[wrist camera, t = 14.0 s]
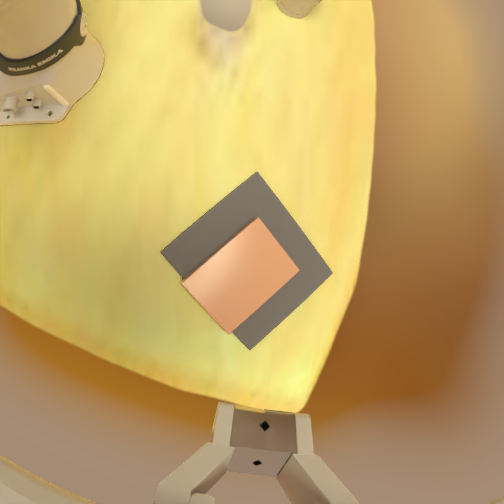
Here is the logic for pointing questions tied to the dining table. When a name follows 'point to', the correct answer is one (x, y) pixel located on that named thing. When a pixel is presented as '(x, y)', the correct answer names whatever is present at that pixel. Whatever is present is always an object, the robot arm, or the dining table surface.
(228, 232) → the mat
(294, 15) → the cup
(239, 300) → the tile
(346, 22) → the dining table surface
